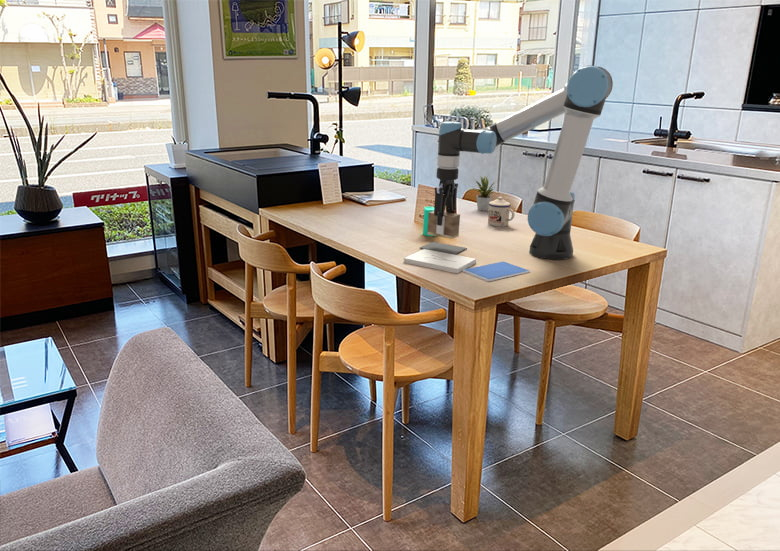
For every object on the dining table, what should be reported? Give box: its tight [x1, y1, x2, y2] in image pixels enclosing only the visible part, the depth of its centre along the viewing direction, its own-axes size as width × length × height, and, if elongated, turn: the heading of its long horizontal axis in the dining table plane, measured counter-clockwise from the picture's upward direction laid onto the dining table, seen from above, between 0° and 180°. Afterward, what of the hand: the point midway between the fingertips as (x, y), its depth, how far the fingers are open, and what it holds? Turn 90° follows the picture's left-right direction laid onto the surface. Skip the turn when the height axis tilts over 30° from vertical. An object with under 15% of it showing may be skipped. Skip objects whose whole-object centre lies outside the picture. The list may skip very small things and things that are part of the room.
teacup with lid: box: [487, 196, 515, 227], centre depth 266 cm, size 12×9×12 cm
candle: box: [422, 206, 435, 237], centre depth 247 cm, size 6×6×12 cm
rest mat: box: [419, 241, 468, 255], centre depth 229 cm, size 14×10×1 cm
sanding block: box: [427, 211, 461, 240], centre depth 226 cm, size 10×5×8 cm, turn 58°
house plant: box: [471, 175, 496, 211], centre depth 295 cm, size 14×14×16 cm
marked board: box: [403, 249, 477, 274], centre depth 212 cm, size 20×14×2 cm
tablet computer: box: [462, 261, 531, 282], centre depth 205 cm, size 19×13×1 cm, turn 126°
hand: (443, 232), depth 227 cm, fingers closed on sanding block, 5 cm apart
